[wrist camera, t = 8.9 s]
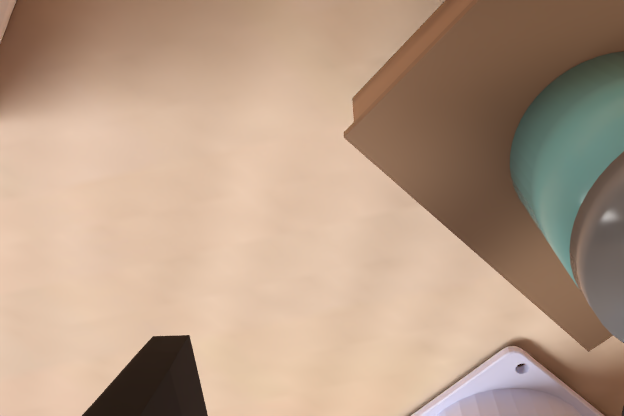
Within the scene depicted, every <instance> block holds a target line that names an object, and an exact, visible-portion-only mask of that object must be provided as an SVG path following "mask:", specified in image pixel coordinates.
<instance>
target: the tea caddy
mask: <svg viewBox="0 0 624 416" xmlns="http://www.w3.org/2000/svg"><path fill="white" fill-rule="evenodd" d="M510 173H511V179H512V183H513V186H514V189H515V191H516V193H517V195H518V197H519V199H520V201H521V202H522V204H523V205H524V207H525V208H526V210H527V211H528V213H529V214H530V216H531V217H532V219H533V220H534V222H535V223H536V225H537V226H538V228H539V229H540V231H541V232H542V234H543V235H544V237H545V238H546V240H547V241H548V243H549V244H550V246H551V247H552V249H553V251H554V252H555V254H556V255H557V257H558V258H559V260H560V261H561V263H562V264H563V266H564V267H565V269H566V270H567V272H568V273H569V275H570V276H571V278H572V279H573V281H574V282H575V284H576V285H577V287H578V288H579V290H580V291H581V293H582V294H583V296H584V297H585V299H586V300H587V302H588V304H589V305H590V307H591V308H592V310H593V311H594V313H595V314H596V316H597V317H598V318H599V320H600V321H601V323H602V324H603V326H604V327H605V328H606V329H607V330H608V331H609V332H610V333H611V334H612V335H613V336H615V337H616V338H618V339H619V340H620V341H622V342H623V343H624V51H622V52H614V53H609V54H606V55H602V56H598V57H595V58H593V59H590V60H587V61H585V62H583V63H581V64H579V65H577V66H575V67H573V68H571V69H569V70H568V71H566V72H565V73H563V74H562V75H560V76H559V77H557V78H556V79H555V80H554V81H552V82H551V83H550V84H549V85H548V86H547V87H546V88H545V89H544V90H543V91H542V92H541V93H540V94H539V95H538V96H537V97H536V98H535V99H534V101H533V102H532V103H531V105H530V106H529V107H528V109H527V110H526V112H525V114H524V115H523V117H522V118H521V120H520V123H519V125H518V127H517V129H516V132H515V135H514V138H513V141H512V146H511V152H510Z"/></svg>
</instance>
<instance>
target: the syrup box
mask: <svg viewBox="0 0 624 416" xmlns="http://www.w3.org/2000/svg"><path fill="white" fill-rule="evenodd" d="M15 3H16V0H0V43H1V40H2V38H3V35H4V32H5V30H6V27H7V24H8V21H9V19H10V16H11V13H12V11H13V9H14V6H15Z"/></svg>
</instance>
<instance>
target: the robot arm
mask: <svg viewBox="0 0 624 416" xmlns="http://www.w3.org/2000/svg"><path fill="white" fill-rule="evenodd" d="M519 364H524V365H523V366H521V367H517V365H519ZM82 416H208V415H207V410H206V406H205V402H204V397H203V393H202V388H201V384H200V380H199V375H198V371H197V367H196V362H195V358H194V353H193V349H192V345H191V340H190V336H189V335H183V336H153V337H152V338H151V339H150V340H149V341H148V342H147V343H146V345H145V346H144V347H143V348H142V349H141V350H140V351H139V352H138V353H137V354H136V356H135V357H134V358H133V359H132V360H131V361H130V362H129V363H128V365H127V366H126V367H125V368H124V369H123V370H122V371H121V373H120V374H119V375H118V376H117V377H116V378H115V379H114V380H113V382H112V383H111V384H110V385H109V386H108V387H107V388H106V389H105V391H104V392H103V393H102V394H101V395H100V396H99V397H98V398H97V400H96V401H95V402H94V403H93V404H92V405H91V406H90V407H89V408H88V409H87V411H86V412H85V413H84V414H83V415H82ZM411 416H604V415H603V414H602V413H601V412H599V411H598V410H597V409H596V408H594V407H593V406H592V405H591V404H589V403H588V402H587V401H586V400H584V399H583V398H582V397H581V396H580V395H578V394H577V393H576V392H575V391H573V390H572V389H571V388H570V387H568V386H567V385H566V384H565V383H563V382H562V381H561V380H560V379H558V378H557V377H556V376H555V375H554V374H552V373H551V372H550V371H549V370H547V369H546V368H545V367H544V366H542V365H541V364H540V363H539V362H537V361H536V360H535V359H534V358H532V357H531V356H530V355H529V354H528V353H526V352H525V351H524V350H523V349H521V348H519V347H517V346H509V347H506V348H504V349H502V350H501V351H499V352H498V353H497V354H495V355H494V356H492V357H491V358H490V359H488V360H487V361H486V362H484V363H483V364H481V365H480V366H479V367H477V368H476V369H474V370H473V371H472V372H470V373H469V374H468V375H466V376H465V377H463V378H462V379H461V380H459V381H458V382H457V383H455V384H454V385H452V386H451V387H450V388H448V389H447V390H445V391H444V392H443V393H441V394H440V395H439V396H437V397H436V398H434V399H433V400H432V401H430V402H429V403H428V404H426V405H425V406H423V407H422V408H421V409H419V410H418V411H417V412H415V413H414V414H412V415H411ZM622 416H624V407H623V411H622Z"/></svg>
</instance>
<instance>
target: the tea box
mask: <svg viewBox="0 0 624 416" xmlns="http://www.w3.org/2000/svg"><path fill="white" fill-rule="evenodd" d="M622 51H624V0H446V1H445V2H444V3H443V4H442V5H441V6H440V7H439V8H438V9H437V10H436V11H435V12H434V13H433V14H432V15H431V16H430V17H429V18H428V19H427V21H426V22H425V23H424V24H423V25H422V26H421V27H420V28H419V29H418V30H417V31H416V32H415V33H414V34H413V35H412V36H411V37H410V38H409V39H408V40H407V42H406V43H405V44H404V45H403V46H402V47H401V48H400V49H399V50H398V51H397V52H396V53H395V54H394V55H393V56H392V57H391V58H390V59H389V60H388V61H387V63H386V64H385V65H384V66H383V67H382V68H381V69H380V70H379V71H378V72H377V73H376V74H375V75H374V76H373V77H372V78H371V79H370V80H369V81H368V82H367V84H366V85H365V86H364V87H363V88H362V89H361V90H360V91H359V92H358V93H357V94H356V95H355V96H354V97H353V114H354V123H353V124H352V125H351V126H350V127H349V128H348V129H347V130H346V131H345V132H344V138H345V139H346V140H347V141H349V142H350V143H351V144H352V145H353V146H354V147H355V148H357V149H358V150H359V151H360V152H361V153H362V154H363V155H365V156H366V157H367V158H368V159H369V160H370V161H371V162H373V163H374V164H375V165H376V166H377V167H378V168H379V169H381V170H382V171H383V172H384V173H385V174H386V175H387V176H389V177H390V178H391V179H392V180H393V181H394V182H395V183H397V184H398V185H399V186H400V187H401V188H402V189H403V190H405V191H406V192H407V193H408V194H409V195H410V196H411V197H413V198H414V199H415V200H416V201H417V202H418V203H419V204H421V205H422V206H423V207H424V208H425V209H426V210H427V211H429V212H430V213H431V214H432V215H433V216H434V217H435V218H437V219H438V220H439V221H440V222H441V223H442V224H443V225H444V226H446V227H447V228H448V229H449V230H450V231H451V232H452V233H454V234H455V235H456V236H457V237H458V238H459V239H460V240H462V241H463V242H464V243H465V244H466V245H467V246H468V247H470V248H471V249H472V250H473V251H474V252H475V253H476V254H478V255H479V256H480V257H481V258H482V259H483V260H484V261H486V262H487V263H488V264H489V265H490V266H491V267H492V268H494V269H495V270H496V271H497V272H498V273H499V274H500V275H502V276H503V277H504V278H505V279H506V280H507V281H508V282H510V283H511V284H512V285H513V286H514V287H515V288H516V289H518V290H519V291H520V292H521V293H522V294H523V295H524V296H526V297H527V298H528V299H529V300H530V301H531V302H532V303H534V304H535V305H536V306H537V307H538V308H539V309H540V310H542V311H543V312H544V313H545V314H546V315H547V316H548V317H550V318H551V319H552V320H553V321H554V322H555V323H556V324H558V325H559V326H560V327H561V328H562V329H563V330H564V331H566V332H567V333H568V334H569V335H570V336H571V337H572V338H574V339H575V340H576V341H577V342H578V343H579V344H580V345H582V346H583V347H584V348H585V349H586V350H587V351H588V352H589V351H590V350H592V349H593V348H595V347H596V346H598V345H599V344H601V343H602V342H604V341H605V340H607V339H608V338H610V337H611V336H613V335H612V334H611V333H610V332H609V331H608V330H607V329H606V328H605V327H604V326H603V324H602V323H601V321H600V320H599V318H598V317H597V316H596V314H595V313H594V311H593V310H592V308H591V307H590V305H589V304H588V302H587V300H586V299H585V297H584V296H583V294H582V293H581V291H580V290H579V288H578V287H577V285H576V284H575V282H574V281H573V279H572V278H571V276H570V275H569V273H568V272H567V270H566V269H565V267H564V266H563V264H562V263H561V261H560V260H559V258H558V257H557V255H556V254H555V252H554V251H553V249H552V247H551V246H550V244H549V243H548V241H547V240H546V238H545V237H544V235H543V234H542V232H541V231H540V229H539V228H538V226H537V225H536V223H535V222H534V220H533V219H532V217H531V216H530V214H529V213H528V211H527V210H526V208H525V207H524V205H523V204H522V202H521V201H520V199H519V197H518V195H517V193H516V191H515V189H514V186H513V183H512V179H511V173H510V152H511V146H512V141H513V138H514V135H515V132H516V129H517V127H518V125H519V123H520V120H521V118H522V117H523V115H524V114H525V112H526V110H527V109H528V107H529V106H530V105H531V103H532V102H533V101H534V99H535V98H536V97H537V96H538V95H539V94H540V93H541V92H542V91H543V90H544V89H545V88H546V87H547V86H548V85H549V84H550V83H551V82H552V81H554V80H555V79H556V78H557V77H559V76H560V75H562V74H563V73H565V72H566V71H568V70H569V69H571V68H573V67H575V66H577V65H579V64H581V63H583V62H585V61H587V60H590V59H593V58H595V57H598V56H602V55H606V54H609V53H614V52H622Z"/></svg>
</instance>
